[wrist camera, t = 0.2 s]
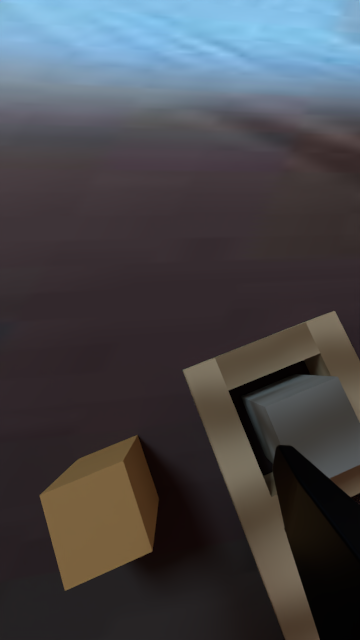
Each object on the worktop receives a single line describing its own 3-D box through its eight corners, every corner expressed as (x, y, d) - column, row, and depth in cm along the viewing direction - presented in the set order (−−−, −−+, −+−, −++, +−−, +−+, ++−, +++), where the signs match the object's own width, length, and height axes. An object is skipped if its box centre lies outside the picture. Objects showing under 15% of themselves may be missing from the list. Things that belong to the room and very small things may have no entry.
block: (159, 498, 20) (152, 551, 14) (97, 524, 20) (65, 590, 14) (137, 434, 21) (123, 460, 15) (78, 459, 21) (39, 495, 15)
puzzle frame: (444, 588, 20) (561, 683, 14) (294, 664, 19) (350, 803, 13) (314, 318, 23) (362, 301, 17) (182, 370, 22) (185, 371, 16)
